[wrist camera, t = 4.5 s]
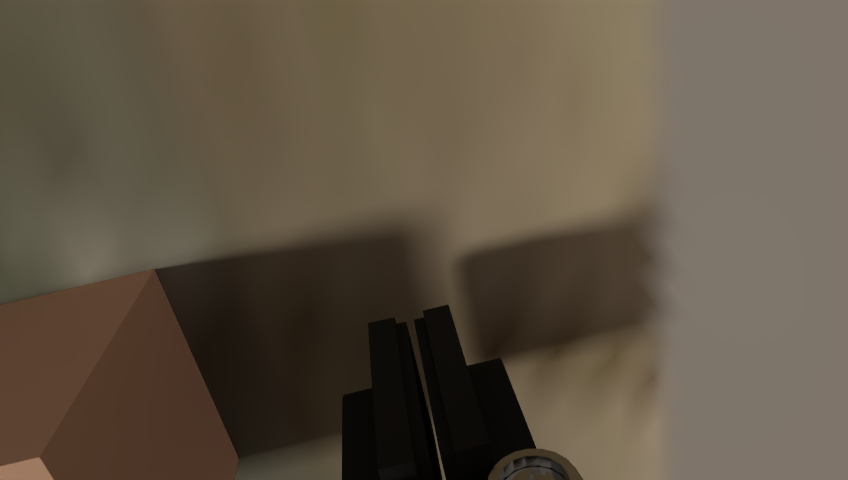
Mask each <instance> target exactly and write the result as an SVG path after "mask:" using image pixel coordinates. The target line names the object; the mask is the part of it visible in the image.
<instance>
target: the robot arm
mask: <svg viewBox="0 0 848 480" xmlns="http://www.w3.org/2000/svg"><path fill="white" fill-rule="evenodd" d="M423 314H424V318H420V319H416V320H414V322H415V327H416V332H417V337H418V343H419V348H420V353H421V358H422V363H423V369H424V374H425V379H426V384H427V389H428V394H429V400H430V405H431V410H432V415H433V420H434V426H435V431H436V436H437V441H438V446H439V451H440V455H441V460H442V464H443V468H444V472H445V477H446V480H583V478H582V477H581V475H580V474H579V472H578V471H577V469H576V468H575V467H574V466H573V465H572V464H571V463H570V462H569V461H568V460H567V458H565V457H563V456H561V455H559V454H558V453H556V452H553V451H549V450H545V449H536V446H535V444H534V441H533V438H532V436H531V433H530V431H529V428H528V426H527V423H526V421H525V418H524V416H523V413H522V410H521V408H520V405H519V403H518V400H517V398H516V395H515V393H514V390H513V388H512V385H511V382H510V380H509V377H508V375H507V372H506V370H505V367H504V365H503V362H502V360H501V359H500V358H498V359H494V360H490V361H485V362H481V363H477V364H473V365H469V366H467V365H466V362H465V358H464V355H463V352H462V348H461V345H460V342H459V338H458V335H457V332H456V328H455V325H454V322H453V319H452V315H451V312H450V309H449V305H445V306H441V307H436V308H432V309H428V310H424V311H423ZM368 328H369V344H370V359H371V375H372V388H371V389H367V390H362V391H358V392H354V393H350V394H345V395H344V396H343V402H342V480H442V475H441V469H440V464H439V459H438V454H437V448H436V443H435V438H434V433H433V428H432V424H431V420H430V416H429V412H428V408H427V404H426V400H425V396H424V392H423V388H422V384H421V380H420V375H419V371H418V367H417V363H416V359H415V355H414V351H413V347H412V343H411V339H410V335H409V331H408V327H407V324H406V322H403V323H399V324H396V321H395V318H389V319H385V320H381V321H376V322H372V323H369V324H368Z"/></svg>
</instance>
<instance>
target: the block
mask: <svg viewBox="0 0 848 480" xmlns="http://www.w3.org/2000/svg"><path fill="white" fill-rule="evenodd" d="M238 460H239V458H238V456H237V454H236V451H235V449H234V447H233V445H232V442H231V440H230V438H229V436H228V433H227V431H226V429H225V427H224V424H223V422H222V420H221V418H220V416H219V413H218V411H217V409H216V407H215V404H214V402H213V400H212V398H211V395H210V393H209V391H208V389H207V386H206V384H205V382H204V380H203V377H202V375H201V373H200V371H199V368H198V366H197V364H196V362H195V359H194V357H193V355H192V353H191V350H190V348H189V346H188V344H187V341H186V339H185V337H184V335H183V332H182V330H181V328H180V326H179V323H178V321H177V319H176V317H175V314H174V312H173V310H172V308H171V305H170V303H169V301H168V299H167V296H166V294H165V292H164V290H163V287H162V285H161V283H160V281H159V278H158V276H157V274H156V272H155V269H153V270H149V271H144V272H140V273H136V274H131V275H127V276H123V277H119V278H114V279H110V280H106V281H101V282H97V283H93V284H88V285H84V286H80V287H75V288H71V289H67V290H63V291H58V292H54V293H50V294H45V295H41V296H37V297H32V298H28V299H24V300H19V301H15V302H11V303H7V304H2V305H0V480H234V479H235V474H236V469H237V464H238Z"/></svg>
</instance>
